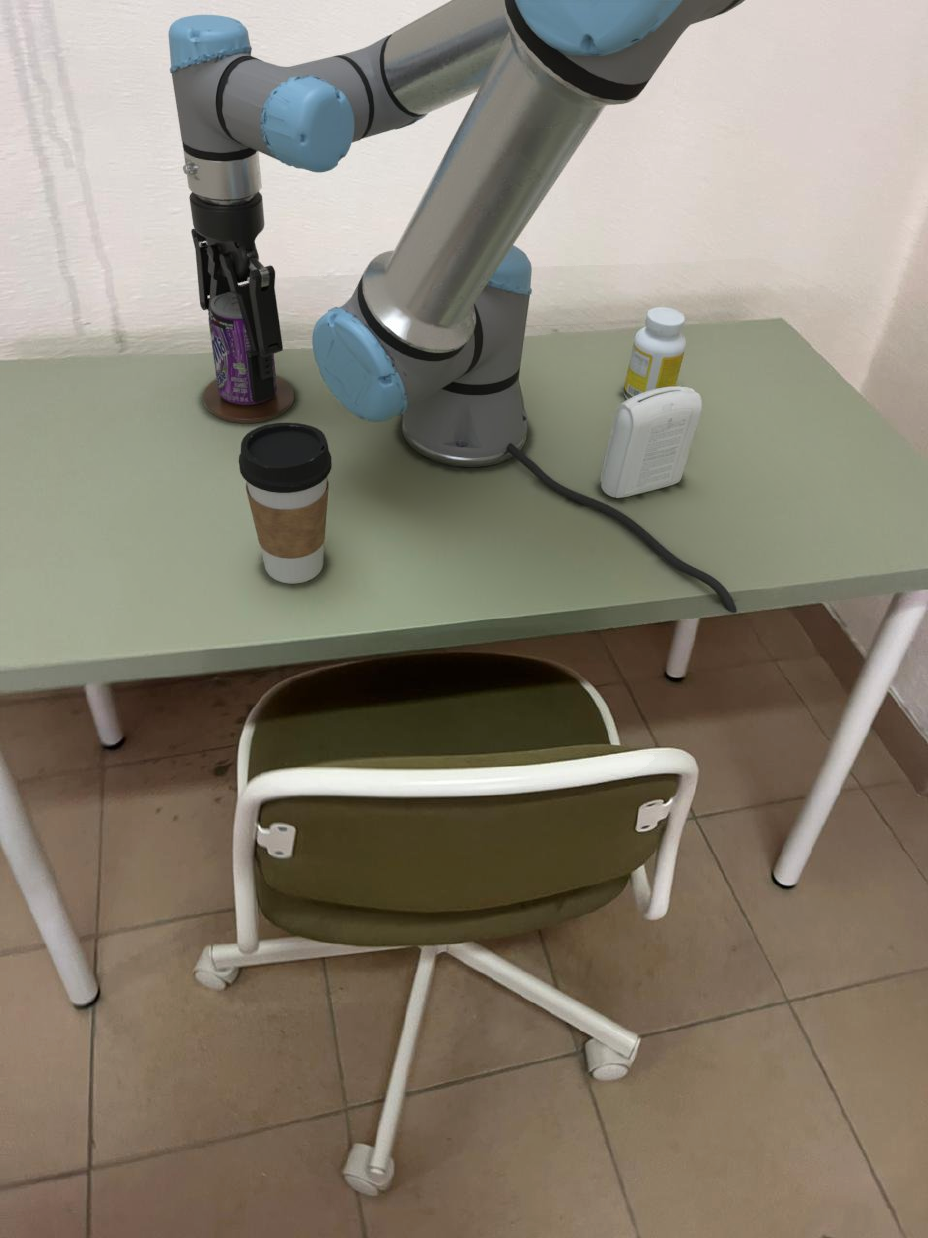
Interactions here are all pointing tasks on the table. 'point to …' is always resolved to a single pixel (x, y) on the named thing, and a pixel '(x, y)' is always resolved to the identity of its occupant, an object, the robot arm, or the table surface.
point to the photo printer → (650, 441)
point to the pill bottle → (656, 352)
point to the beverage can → (231, 350)
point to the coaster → (249, 412)
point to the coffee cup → (288, 496)
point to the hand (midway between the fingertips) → (246, 383)
